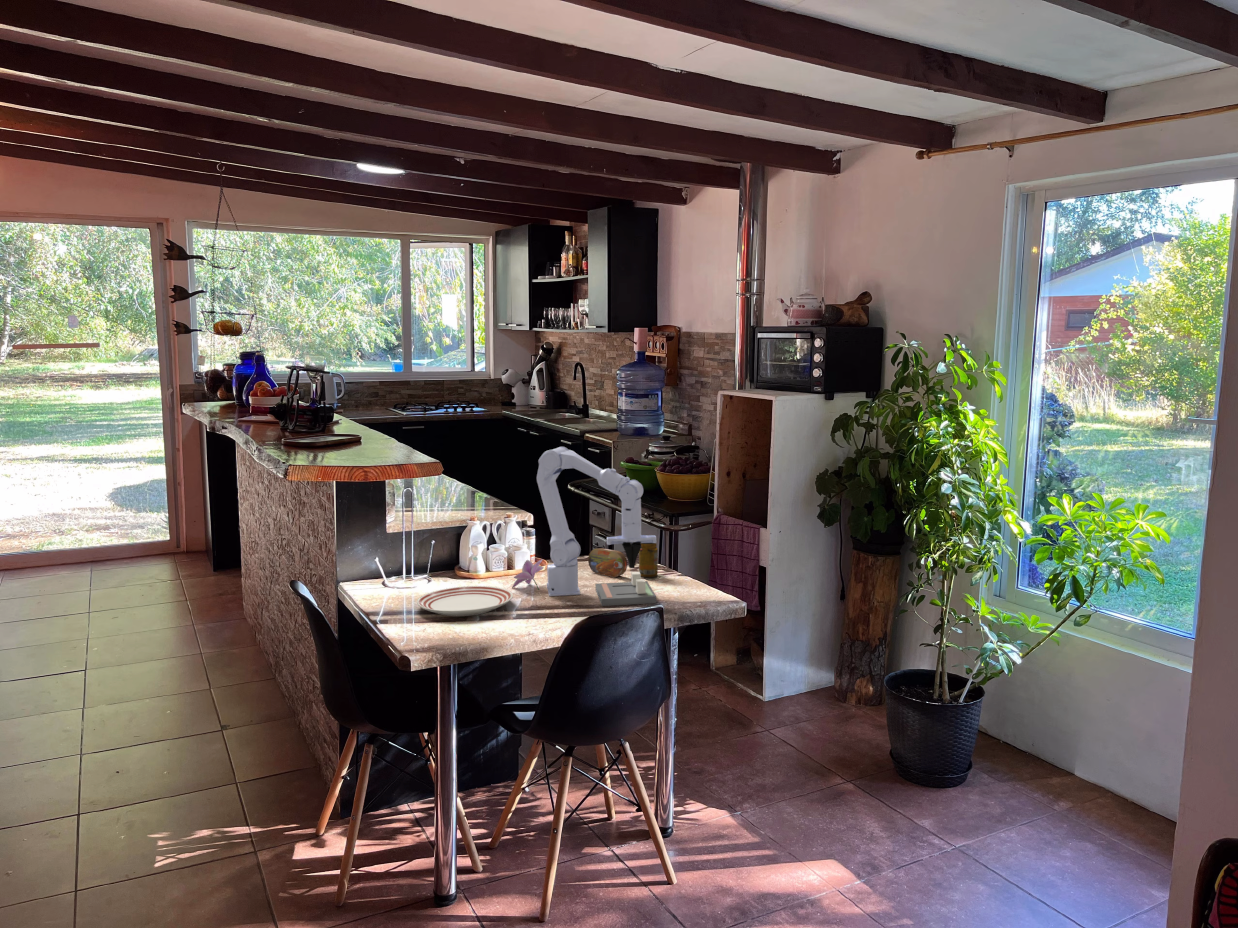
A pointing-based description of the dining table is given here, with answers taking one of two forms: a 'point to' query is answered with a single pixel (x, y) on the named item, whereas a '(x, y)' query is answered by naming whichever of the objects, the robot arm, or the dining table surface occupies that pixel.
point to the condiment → (649, 561)
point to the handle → (635, 577)
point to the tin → (607, 562)
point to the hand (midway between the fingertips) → (631, 567)
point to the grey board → (623, 594)
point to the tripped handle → (640, 586)
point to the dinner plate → (464, 600)
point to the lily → (528, 572)
